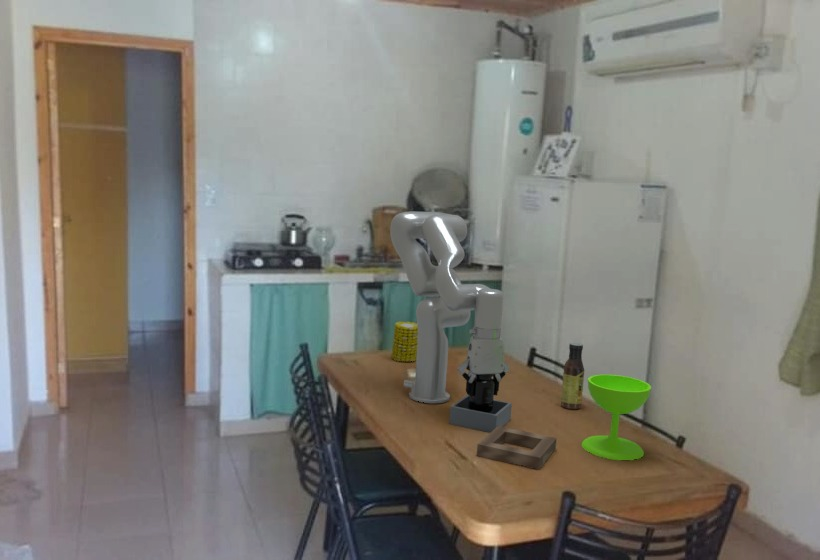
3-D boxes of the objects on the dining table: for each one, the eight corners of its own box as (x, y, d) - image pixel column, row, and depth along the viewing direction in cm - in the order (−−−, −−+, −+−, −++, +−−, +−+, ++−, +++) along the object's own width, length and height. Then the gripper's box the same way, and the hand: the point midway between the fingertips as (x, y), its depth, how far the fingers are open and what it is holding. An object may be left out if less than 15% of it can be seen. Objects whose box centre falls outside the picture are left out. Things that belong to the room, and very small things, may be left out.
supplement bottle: (463, 409, 213) (467, 368, 211) (477, 404, 218) (480, 364, 216) (483, 415, 209) (487, 373, 207) (497, 410, 214) (500, 369, 212)
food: (410, 360, 283) (418, 368, 274) (381, 353, 280) (388, 362, 270) (422, 322, 282) (430, 329, 272) (393, 315, 278) (400, 322, 268)
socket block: (476, 455, 188) (477, 444, 187) (496, 436, 202) (497, 426, 202) (539, 469, 181) (540, 457, 181) (555, 449, 196) (556, 438, 195)
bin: (449, 423, 210) (450, 406, 210) (466, 410, 223) (467, 394, 222) (495, 433, 205) (496, 415, 204) (510, 419, 217) (511, 403, 216)
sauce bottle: (581, 411, 229) (587, 347, 226) (560, 408, 230) (566, 345, 227) (580, 404, 235) (586, 343, 233) (560, 402, 237) (566, 341, 234)
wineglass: (647, 445, 203) (654, 381, 200) (639, 465, 188) (647, 396, 185) (587, 434, 209) (594, 371, 206) (575, 452, 194) (582, 385, 192)
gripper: (464, 336, 203) (459, 400, 206) (520, 335, 209) (515, 397, 212) (453, 330, 210) (448, 392, 213) (508, 329, 216) (503, 389, 219)
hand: (481, 394), depth 213 cm, fingers closed on supplement bottle, 6 cm apart
